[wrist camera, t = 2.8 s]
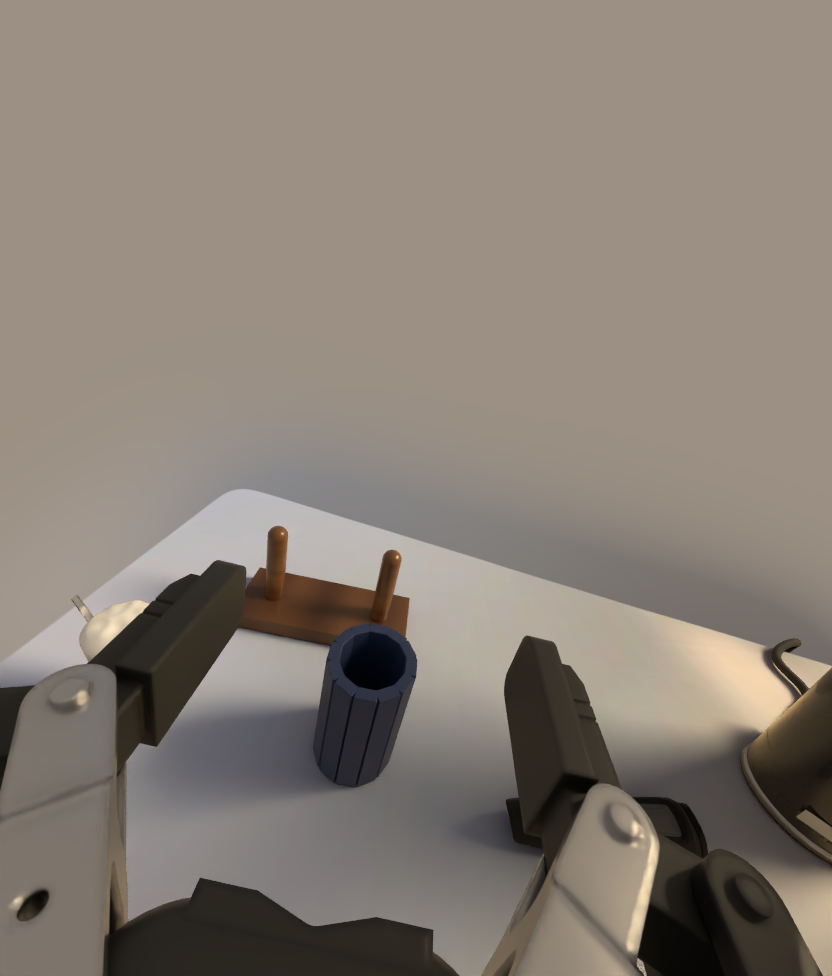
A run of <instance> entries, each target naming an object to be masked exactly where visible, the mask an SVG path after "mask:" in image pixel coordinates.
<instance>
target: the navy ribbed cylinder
mask: <svg viewBox="0 0 832 976" xmlns="http://www.w3.org/2000/svg"><path fill="white" fill-rule="evenodd" d="M406 639H407V638H405V637H404V636H403V635H401V634H400V633H398V632H397V631H395V630H394V629H393V628H390V629H389V627H387V626H382V625H377V624H373V623H371V624H370V626H369V625H368V623H366V624H362V625H357V626H353V627H350V629H348V628H347V629H346V630H345V631H343V632H342V633H341V634H340V635H339V636H337V637H336V638H335V639H334V640H333V642H332V644H331V647H330V650H329V653H328V656H327V660H326V667H325V673H324V680H323V686H322V693H321V699H320V706H319V712H318V719H317V725H316V731H315V738H314V747H313V749H314V753H315V757H316V761H317V765H318V767H319V766H320V770H321V771H322V772H323V773H324V774H325V775H326V776H327V777H328V778H329V779H330V780H331V781H332V782H334V781H335V780H336V784H339V785H345V786H350V787H355V785H357V787H359V786H361V785H364V784H366V783H368V782H371V781H373V780H375V779H376V777H378V776H379V775H380V773H381V772H382V771H383V769H384V768H385V766H386V765H387V763H388V762H389V759H390V756H391V753H392V750H393V747H394V744H395V741H396V738H397V734H398V731H399V728H400V725H401V722H402V719H403V716H404V713H405V709H406V706H407V703H408V700H409V697H410V694H411V691H412V688H413V684H414V681H415V678H416V671H417V659H416V654H415V652H414V651H413V649H412V647H411V645H410V643H409V641H406Z"/></svg>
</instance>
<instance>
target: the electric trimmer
mask: <svg viewBox="0 0 832 976" xmlns="http://www.w3.org/2000/svg"><path fill="white" fill-rule="evenodd" d="M632 798H633V799H634V800H635V801H636V802H637V803H638V804H639V805H640V806H641V807H642V809H643V810H644V811H645V813H646V814H647V815H648V817H649V819H650V820H651V822H652V824H653V826H654V828H655V831H657V832H658V833H660V834H661V835H663V836H664V837H666V838H668V839H669V840H671V841H673V842H675V843H676V844H678V845H680V846H681V847H683V848H685V849H687V850H688V851H690V852H692V853H693V854H695V855H697V856H699V857H700V858H702V859H704V858H705V857H706V856H707V855H708V850H707V843H706V839H705V836H704V834H703V831H702V829H701V827H700V825H699V823H698V821H697V819H696V817H695V816H694V814H693V812H692V811H691V809H690V808H689V806H688V805H687V804H685V803H677V802H675V801H674V800H672V799H670V798H662V797H632ZM506 805H507V809H508V814H509V818H510V823H511V827H512V833H513V838H514V841H515V842H517V843H521V844H525V845H529V846H532V847H537V848H542V849H543V845H542V839H541V837H537V836H532V835H528V834H524V830H523V823H522V816H521V809H520V802H519V798H512V799H507V800H506Z"/></svg>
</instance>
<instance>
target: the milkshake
mask: <svg viewBox="0 0 832 976" xmlns="http://www.w3.org/2000/svg"><path fill="white" fill-rule="evenodd" d="M71 600H72V601H73V603H74V604H75V605H76V607H77V608H78V610H79V611H80V612H81V614H82V615H83V617H84V618H85V619H86V621H87V622H88V623H87V624H86V625H85V626H84V628H83V629H82V631H81V633H80V638H79V642H80V646H81V649H82V651H83V653H84V655H85V657H86V659H87V661H88V662H89V661H91V660H92V659H93V658H94V657H95V656H96V655H97V654H98V653H99V652H100V651H101V650H102V649H103V648H104V647H105V646H106V645H107V644H108V643H110V642H111V641H112V640H113V639H114V638H115V637H116V636H117V635H118V634H119V633H120V632H121V631H122V630H123V629H124V628H125V627H126V626H127V625H128V624H129V623H130V622H131V621H133V620H134V619H135V618H136V617H137V616H138V615H139V614H140V613H143V611H144V609H145V608H146V607H147V606H148V605H149V604H148V603H145V602H142V601H139V600H134V601H130V602H127V603H122V604H116V605H113V606H111V607H109V608H107V609H105V610H103V611H102V612H100V613H99V614H97V615H96V616H94V617H93V615H92V614H91V613H90V611H89V610H88V608H87V607H86V606H85V604H84V603H83V601H82V600H81V599H80V597H79V596H78V595H75V596H74V597H73V598H72V599H71Z"/></svg>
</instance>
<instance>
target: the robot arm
mask: <svg viewBox="0 0 832 976" xmlns="http://www.w3.org/2000/svg"><path fill="white" fill-rule="evenodd" d="M245 586H246V568H245V567H244V566H241V565H237V564H233V563H228V562H224V561H220V560H217V561H215V562H213V563H212V564H211V565H210V566H209V567H208V568H207V570H206V571H205V572H204V573H203V574H202V575H201V576H198V575H194V574H189V575H187V576H185V577H183V578H181V579H179V580H178V581H176V582H174V583H172V584H170V585H169V586H168V587H167V588H166V589H165V590H164V591H163V592H162V593H161V594H160V595H159V596H158V597H157V598H156V600H155V601H152V602H151V603H150V604H149V605H148V606H147V607H146V608H145V609H144V611H143V613H140V614H139V615H138V616H137V617H136V618H135V619H134V620H133V621H131V622H130V623H129V624H128V625H127V626H126V627H125V628H124V629H123V630H122V631H121V632H120V633H119V634H118V635H117V636H116V637H115V638H114V639H113V640H112V641H111V642H110V643H108V644H107V645H106V646H105V647H104V648H103V649H102V650H101V651H100V652H99V653H98V654H97V655H96V656H95V657H94V658H93V659H92V660H91V661H89V662H88V663H87V664H82V665H76V666H72V667H69V668H65V669H63V670H60V671H58V672H56V673H54V674H52V675H50V676H48V677H47V678H45V679H43V680H42V681H41V682H39V683H38V684H37V685H34V686H24V687H8V688H0V976H459V975H458V974H457V973H456V972H455V970H454V969H453V968H452V967H451V966H449V965H448V964H447V963H446V962H445V961H444V960H443V959H442V958H441V957H439V956H438V955H436V954H435V953H434V952H433V930H431V929H427V928H422V927H418V926H413V925H409V924H404V923H400V922H395V921H391V920H386V919H382V918H377V917H375V918H368V919H362V920H356V921H349V922H343V923H336V924H330V925H323V926H311V925H309V924H307V923H305V922H303V921H302V920H301V919H299V918H298V917H296V916H295V915H293V914H292V913H290V912H289V911H287V910H286V909H284V908H283V907H281V906H280V905H278V904H277V903H275V902H274V901H272V900H271V899H269V898H268V897H266V896H265V895H263V894H262V893H260V892H259V891H257V890H253V889H248V888H244V887H239V886H235V885H230V884H226V883H221V882H217V881H212V880H208V879H203V878H200V879H199V881H198V883H197V885H196V888H195V890H194V892H193V894H192V897H191V898H185V899H180V900H176V901H173V902H170V903H166V904H163V905H161V906H159V907H156V908H154V909H152V910H149V911H147V912H145V913H143V914H141V915H140V916H138V917H136V918H134V919H133V920H131V921H129V922H128V883H127V866H126V792H127V764H126V761H127V760H128V758H129V757H130V755H131V754H132V753H133V751H134V750H135V749H136V747H137V746H138V744H139V743H142V744H146V745H151V746H155V747H157V746H158V744H159V743H160V741H161V740H162V738H163V737H164V735H165V734H166V732H167V731H168V730H169V728H170V727H171V725H172V724H173V722H174V721H175V719H176V718H177V716H178V715H179V713H180V712H181V710H182V709H183V708H184V706H185V705H186V703H187V702H188V700H189V699H190V697H191V696H192V694H193V693H194V691H195V690H196V688H197V687H198V686H199V684H200V683H201V681H202V680H203V678H204V677H205V675H206V674H207V672H208V671H209V669H210V668H211V666H212V665H213V664H214V662H215V661H216V659H217V658H218V656H219V655H220V653H221V652H222V650H223V649H224V647H225V646H226V644H227V643H228V642H229V640H230V639H231V637H232V636H233V634H234V633H235V631H236V630H237V628H238V626H239V624H240V621H241V619H242V615H243V611H244V602H245ZM800 645H801V641H800V640H798V639H788V640H785V641H783V642H781V643H779V644H778V645H776V646H775V647H774V648H773V650H772V660H773V662H774V664H775V665H776V666H777V668H778V669H779V670H780V671H781V672H782V673H783V674H784V675H785V676H786V677H787V678H788V679H789V680H790V681H791V682H792V683H793V684H794V685H795V686H796V687H797V688H798V689H799V691H800V692H801V694H802V696H801V697H800V698H799V699H798V700H797V701H796V702H795V703H794V704H793V705H792V706H791V707H790V708H789V709H788V710H787V711H785V712H784V713H783V714H782V715H781V716H780V717H779V718H778V719H777V720H776V721H775V722H774V723H773V724H772V725H770V726H769V727H768V728H767V729H766V730H765V731H764V732H763V733H762V734H761V735H760V736H759V737H758V738H757V739H756V740H754V741H752V742H750V743H749V744H748V745H747V746H746V747H745V748H744V749H743V751H742V753H741V765H742V769H743V772H744V775H745V777H746V779H747V781H748V783H749V785H750V787H751V789H752V790H753V792H754V793H755V795H756V796H757V798H758V799H759V801H760V802H761V803H762V805H763V806H764V807H765V808H766V810H767V811H768V812H769V813H770V814H771V816H772V817H773V818H774V819H775V820H776V821H777V822H778V823H779V824H780V825H781V826H782V827H783V828H784V829H785V830H786V831H787V832H788V833H789V834H790V835H792V836H793V837H794V838H795V839H796V840H797V841H799V842H800V843H801V844H802V845H804V846H805V847H806V848H808V849H809V850H810V851H812V852H813V853H815V854H816V855H818V856H819V857H821V858H823V859H824V860H826V861H828V862H830V863H832V668H831V669H830V670H829V671H828V672H827V673H826V674H825V675H823V676H822V677H821V678H820V679H819V680H818V681H817V682H816V683H815V684H814V685H813V686H812V687H811V688H810V689H809V688H808V687H807V686H806V684H805V683H804V682H803V681H802V680H801V679H800V678H799V677H798V676H797V675H796V674H794V673H793V672H792V671H791V670H790V669H789V668H788V667H787V666H786V665H785V663H784V662H783V661H782V659H781V655H782V653H783V652H787V653H790V652H792V651H793V650H794V649H796V648H797V647H799V646H800ZM504 696H505V704H506V711H507V718H508V725H509V732H510V739H511V746H512V753H513V760H514V767H515V774H516V781H517V788H518V795H519V802H520V809H521V816H522V823H523V830H524V834H528V835H532V836H537V837H541V839H542V845H543V850H544V854H543V855H542V856H541V858H540V860H539V862H538V864H537V866H536V868H535V870H534V872H533V874H532V877H531V879H530V881H529V883H528V885H527V887H526V889H525V891H524V893H523V895H522V898H521V900H520V902H519V904H518V906H517V908H516V910H515V912H514V914H513V916H512V919H511V921H510V923H509V925H508V927H507V929H506V931H505V933H504V935H503V937H502V939H501V941H500V943H499V945H498V947H497V949H496V951H495V952H494V954H493V956H492V957H491V959H490V961H489V962H488V964H487V966H486V968H485V969H484V971H483V973H482V975H481V976H644V975H643V973H642V972H641V971H640V970H639V969H638V968H637V958H639V959H640V960H642V961H643V963H644V966H645V970H646V974H647V976H823V975H822V973H821V972H820V970H819V968H818V966H817V964H816V962H815V960H814V958H813V956H812V955H811V953H810V951H809V949H808V947H807V945H806V943H805V941H804V940H803V938H802V936H801V934H800V932H799V930H798V928H797V926H796V925H795V923H794V921H793V919H792V917H791V915H790V913H789V911H788V910H787V908H786V906H785V904H784V903H783V901H782V899H781V898H780V897H779V895H778V894H777V892H776V891H775V890H774V888H773V887H772V886H771V885H770V883H769V882H768V881H767V880H766V879H765V878H764V877H763V876H762V874H760V873H759V872H758V871H757V870H756V869H755V868H754V867H753V866H752V865H750V864H749V863H748V862H747V861H745V860H744V859H742V858H741V857H739V856H738V855H736V854H734V853H732V852H729V851H727V850H722V849H716V850H713V851H711V852H710V853H709V854H708V855H707V856H706V857H705V858H704V859H702V858H700V857H699V856H697V855H695V854H693V853H692V852H690V851H688V850H687V849H685V848H683V847H681V846H680V845H678V844H676V843H675V842H673V841H671V840H669V839H668V838H666V837H664V836H663V835H661V834H660V833H658V832H657V831H655V828H654V826H653V824H652V822H651V820H650V819H649V817H648V815H647V814H646V813H645V811H644V810H643V809H642V807H641V806H640V805H639V804H638V803H637V802H636V801H635V800H634V799H633V798H632V797H631V796H630V795H628V794H627V793H626V792H624V791H623V790H622V788H621V786H620V784H619V781H618V778H617V775H616V773H615V770H614V767H613V764H612V762H611V759H610V756H609V753H608V750H607V748H606V745H605V742H604V739H603V737H602V734H601V731H600V728H599V726H598V723H596V717H595V715H594V712H593V709H592V707H591V706H590V701H589V698H588V695H587V693H586V690H585V687H584V684H583V683H582V681H581V680H580V679H579V677H578V676H577V674H576V673H575V672H574V670H573V669H572V668H571V666H569V665H564V664H562V663H561V660H560V656H559V653H558V650H557V647H556V645H555V643H554V642H552V641H548V640H544V639H539V638H535V637H531V636H525V637H524V638H523V640H522V642H521V644H520V646H519V648H518V650H517V653H516V655H515V657H514V659H513V661H512V663H511V665H510V668H509V670H508V672H507V675H506V679H505V686H504Z"/></svg>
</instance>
